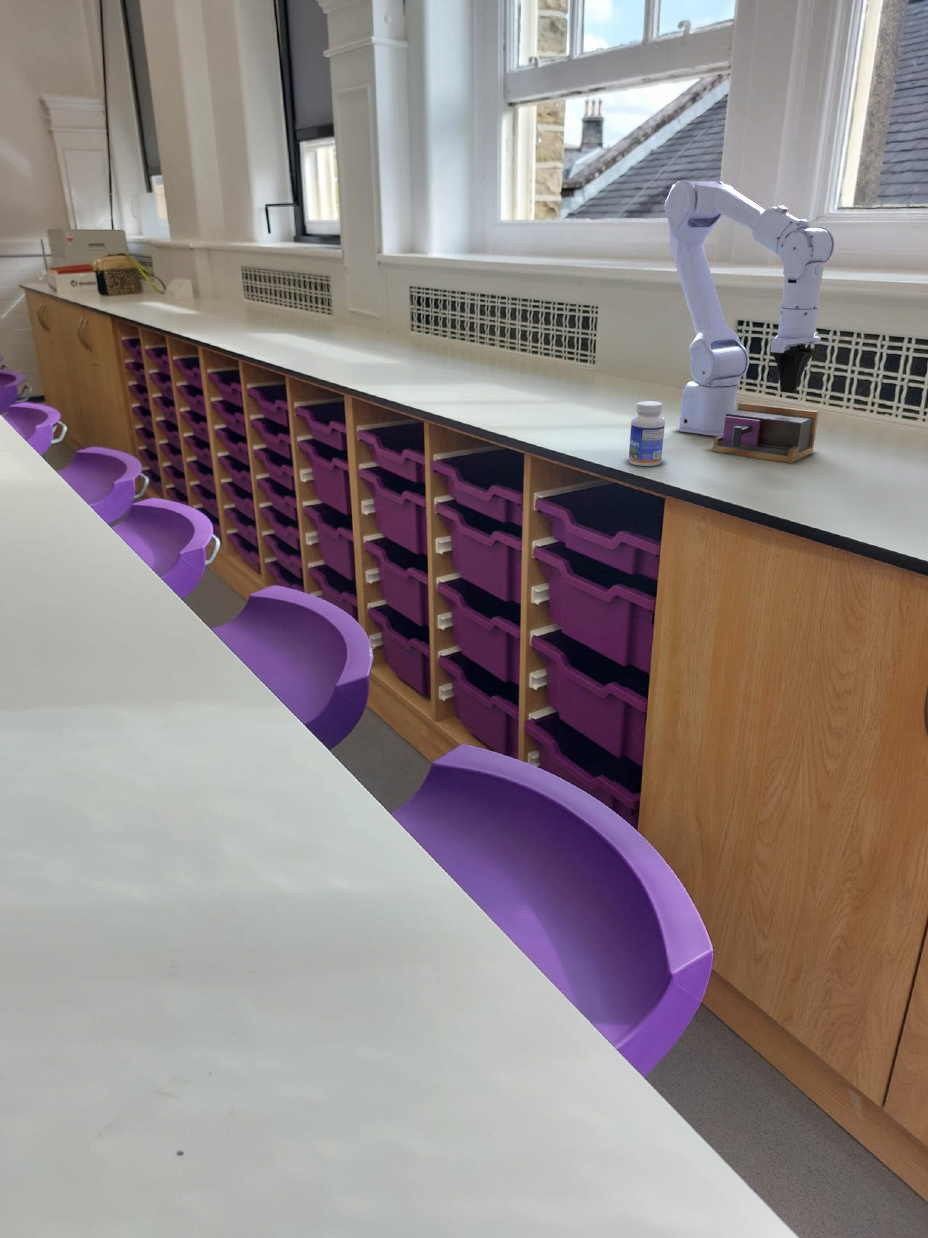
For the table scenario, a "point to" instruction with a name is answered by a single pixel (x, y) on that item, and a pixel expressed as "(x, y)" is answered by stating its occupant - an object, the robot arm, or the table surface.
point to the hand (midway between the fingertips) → (788, 391)
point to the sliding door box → (775, 433)
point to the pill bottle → (647, 434)
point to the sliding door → (741, 431)
